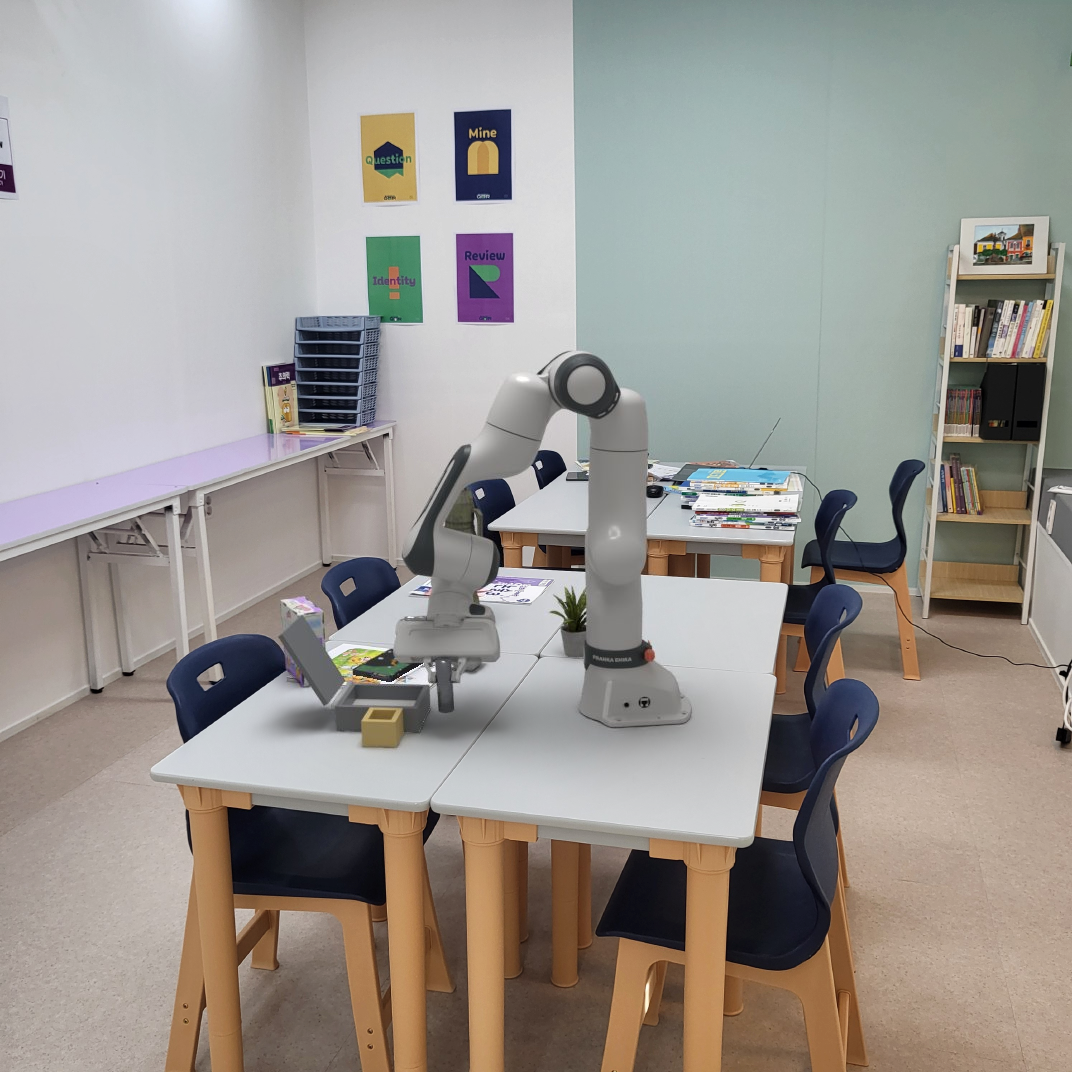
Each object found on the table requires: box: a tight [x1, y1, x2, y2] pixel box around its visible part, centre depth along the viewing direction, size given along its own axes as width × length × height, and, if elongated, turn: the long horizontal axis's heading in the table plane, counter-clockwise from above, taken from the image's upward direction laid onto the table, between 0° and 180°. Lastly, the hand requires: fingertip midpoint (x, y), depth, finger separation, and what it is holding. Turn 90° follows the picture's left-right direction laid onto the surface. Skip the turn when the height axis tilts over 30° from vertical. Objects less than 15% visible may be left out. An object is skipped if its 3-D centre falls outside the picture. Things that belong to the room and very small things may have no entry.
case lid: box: [277, 615, 346, 707], centre depth 194 cm, size 16×12×1 cm
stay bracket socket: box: [361, 707, 405, 748], centre depth 186 cm, size 6×6×5 cm
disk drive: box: [352, 648, 423, 682], centre depth 221 cm, size 10×3×15 cm
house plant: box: [548, 586, 586, 658], centre depth 227 cm, size 14×14×16 cm
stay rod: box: [434, 657, 456, 714], centre depth 185 cm, size 3×3×10 cm
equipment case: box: [330, 679, 431, 733], centre depth 195 cm, size 17×12×6 cm
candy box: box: [279, 596, 327, 688], centre depth 217 cm, size 14×6×16 cm, turn 30°
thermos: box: [443, 487, 484, 604], centre depth 248 cm, size 9×12×35 cm
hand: (443, 682), depth 184 cm, fingers closed on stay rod, 3 cm apart
